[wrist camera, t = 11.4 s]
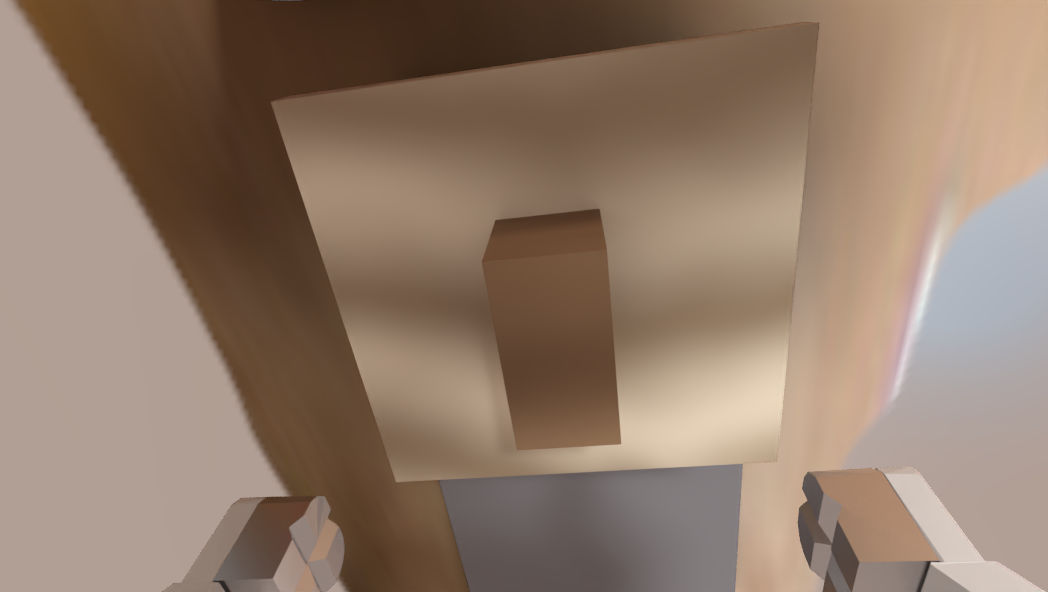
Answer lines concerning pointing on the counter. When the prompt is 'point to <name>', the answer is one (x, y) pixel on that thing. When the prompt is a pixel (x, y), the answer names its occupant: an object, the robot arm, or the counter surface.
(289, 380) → the counter surface
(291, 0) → the soda can
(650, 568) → the mat
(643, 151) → the lid
